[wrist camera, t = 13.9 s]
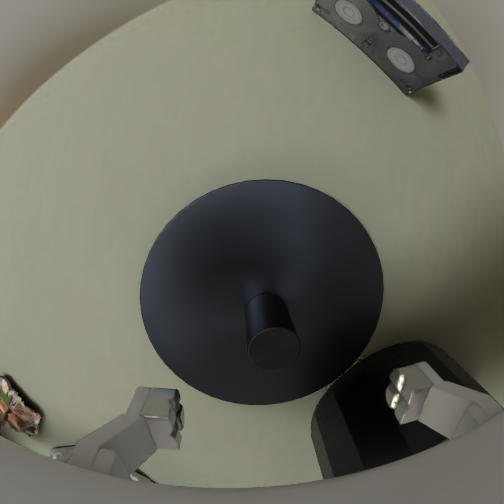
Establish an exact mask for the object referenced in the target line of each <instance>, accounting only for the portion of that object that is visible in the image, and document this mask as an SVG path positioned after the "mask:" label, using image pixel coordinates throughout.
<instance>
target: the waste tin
mask: <svg viewBox="0 0 504 504" xmlns="http://www.w3.org/2000/svg"><path fill="white" fill-rule="evenodd" d="M423 361H424V362H426V363H428V365H429V366H430V367H431V368H432V369H433V370H434V371H435V372H436V373H437V374H438V375H439V376H440V377H441V379H442V380H443V381H444V382H446V381H449V382H452V383H455V384H457V385H460V386H463V387H466V388H469V389H472V390H475V391H478V392H481V393H484V394H488V395H490V394H489V393H488V392H487V391H486V390H485V389H484V388H483V387H482V386H481V385H480V384H479V383H478V382H477V381H476V380H475V379H474V378H473V377H471V376H470V375H469V374H468V373H467V372H466V371H465V370H464V369H463V368H462V367H461V366H460V365H459V364H458V363H457V362H456V361H455V360H454V359H453V358H452V357H450V356H449V355H448V354H447V353H446V352H445V351H444V350H443V349H442V348H438V347H437V346H436V345H433V344H431V343H427V342H421V341H413V342H405V343H401V344H397V345H394V346H391V347H388V348H385V349H383V350H381V351H379V352H377V353H375V354H373V355H371V356H369V357H367V358H366V359H364V360H362V361H361V362H359V363H358V364H356V365H355V366H353V367H352V368H351V369H350V370H348V371H347V372H346V373H344V374H343V375H342V376H341V377H340V378H339V379H338V380H337V381H336V382H335V383H334V384H333V385H332V386H331V387H330V388H329V389H328V390H327V392H326V393H325V394H324V396H323V397H322V398H321V400H320V402H319V403H318V405H317V407H316V409H315V411H314V414H313V418H312V422H311V431H312V433H311V437H312V440H313V444H314V448H315V451H316V455H317V458H318V462H319V465H320V469H321V473H322V476H323V480H324V479H329V478H334V477H339V476H344V475H348V474H353V473H357V472H361V471H364V470H368V469H372V468H375V467H379V466H382V465H385V464H389V463H392V462H395V461H398V460H401V459H404V458H406V457H409V456H412V455H415V454H417V453H420V452H422V451H425V450H427V449H430V448H432V447H435V446H437V445H439V444H441V443H444V442H446V441H448V440H450V439H449V438H447V437H445V436H444V435H442V434H440V433H438V432H437V431H435V430H433V429H432V428H430V427H428V426H426V425H425V424H423V423H421V422H420V421H418V420H419V419H418V420H415V421H412V422H409V423H405V424H402V425H400V423H399V421H398V420H397V418H396V416H395V415H394V413H395V409H393V408H390V407H389V405H388V403H387V400H386V389H387V386H388V385H389V384H390V382H391V379H390V374H391V372H392V370H393V369H397V368H401V367H405V366H409V365H413V364H416V363H420V362H423ZM490 396H491V395H490ZM491 397H492V396H491ZM492 398H493V397H492ZM493 399H494V398H493ZM494 400H495V399H494ZM495 401H496V400H495ZM496 402H497V401H496ZM497 403H498V402H497ZM498 404H499V403H498ZM499 405H500V404H499ZM500 406H501V405H500Z"/></svg>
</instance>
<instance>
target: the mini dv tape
mask: <svg viewBox="0 0 504 504" xmlns="http://www.w3.org/2000/svg"><path fill="white" fill-rule="evenodd" d="M312 10H313V11H314V12H316V13H317V14H318V15H320V16H321V17H322V18H324V19H325V20H326V21H327V22H329V23H330V24H331V25H333V26H334V27H335V28H336V29H338V30H339V31H340V32H341V33H342V34H344V35H345V36H346V37H347V38H348V39H350V40H351V41H352V42H353V43H354V44H355V45H356V46H357V47H359V48H360V49H361V50H362V51H363V52H364V53H365V54H366V55H367V56H368V57H369V58H370V59H372V60H373V61H374V62H375V63H376V64H377V65H378V66H379V67H380V68H381V69H382V70H383V71H384V72H385V73H386V74H387V75H388V76H389V78H390V79H391V80H392V81H393V82H394V83H395V84H396V85H397V86H398V87H399V88H400V89H401V91H402V92H403V93H404V94H406V95H407V94H410V93H412V92H414V91H417V90H419V89H421V88H424V87H426V86H428V85H431V84H433V83H436V82H438V81H441V80H443V79H446V78H448V77H451V76H453V75H456V74H459V73H461V72H463V70H464V69H465V68H466V66H467V65H468V63H469V62H470V61H469V60H468V58H467V57H466V56H465V55H464V53H463V52H462V51H461V50H460V48H459V47H458V46H457V45H456V43H455V42H454V41H453V40H452V39H451V38H450V36H449V35H448V34H447V33H446V32H445V31H444V30H443V29H442V28H441V26H440V25H439V24H438V23H437V22H436V21H435V20H434V19H433V18H432V17H431V16H430V15H429V14H428V13H427V12H426V11H425V10H424V9H423V8H422V7H421V6H420V5H419V4H418V3H417V2H416V1H415V0H316V2H315V4H314V6H313V8H312Z"/></svg>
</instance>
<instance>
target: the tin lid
mask: <svg viewBox="0 0 504 504" xmlns="http://www.w3.org/2000/svg"><path fill="white" fill-rule="evenodd" d="M383 290H384V289H383V274H382V269H381V264H380V260H379V257H378V254H377V251H376V248H375V246H374V244H373V242H372V240H371V238H370V236H369V234H368V233H367V231H366V230H365V228H364V227H363V226H362V224H361V223H360V222H359V220H358V219H357V218H356V217H355V216H354V215H353V214H352V213H351V212H350V211H349V210H348V209H347V208H346V207H344V206H343V205H342V204H340V203H339V202H338V201H336V200H335V199H333V198H332V197H330V196H328V195H326V194H324V193H322V192H320V191H319V190H316V189H313V188H311V187H308V186H305V185H302V184H298V183H293V182H288V181H283V180H267V179H264V180H251V181H244V182H239V183H235V184H230V185H227V186H224V187H221V188H219V189H216V190H213V191H211V192H209V193H207V194H205V195H203V196H202V197H200V198H198V199H196V200H194V201H193V202H192V203H190V204H189V205H188V206H186V207H185V208H184V209H182V210H181V211H180V212H179V213H178V214H177V215H176V216H175V217H174V218H173V219H172V220H171V221H170V222H169V223H168V224H167V225H166V226H165V228H164V229H163V230H162V232H161V233H160V234H159V236H158V237H157V239H156V241H155V243H154V244H153V246H152V248H151V250H150V252H149V254H148V257H147V260H146V263H145V266H144V269H143V274H142V279H141V287H140V304H141V314H142V318H143V322H144V326H145V329H146V332H147V334H148V337H149V339H150V341H151V343H152V345H153V347H154V349H155V350H156V352H157V354H158V355H159V356H160V358H161V359H162V360H163V362H164V363H165V364H166V365H167V366H168V367H169V368H170V369H171V370H172V371H173V372H174V373H175V374H176V375H177V376H178V377H179V378H181V379H182V380H183V381H184V382H186V383H187V384H189V385H190V386H192V387H193V388H195V389H197V390H198V391H201V392H203V393H205V394H207V395H209V396H212V397H215V398H218V399H221V400H224V401H228V402H233V403H238V404H247V405H269V404H277V403H283V402H287V401H292V400H295V399H298V398H301V397H304V396H307V395H309V394H311V393H313V392H316V391H318V390H320V389H321V388H323V387H325V386H326V385H328V384H330V383H331V382H333V381H334V380H335V379H337V378H338V377H339V376H341V375H342V374H343V373H344V372H345V371H346V370H347V369H348V368H349V367H350V366H351V365H352V364H353V363H354V362H355V361H356V360H357V358H358V357H359V356H360V355H361V353H362V352H363V350H364V349H365V347H366V346H367V344H368V343H369V341H370V339H371V337H372V335H373V333H374V331H375V328H376V326H377V323H378V320H379V317H380V312H381V308H382V302H383Z"/></svg>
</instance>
